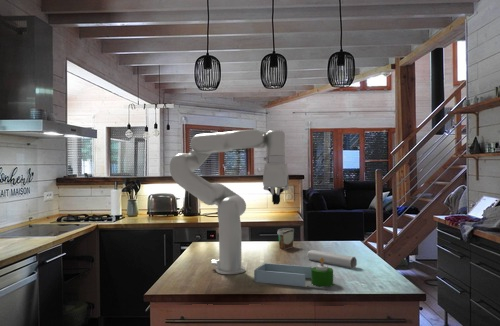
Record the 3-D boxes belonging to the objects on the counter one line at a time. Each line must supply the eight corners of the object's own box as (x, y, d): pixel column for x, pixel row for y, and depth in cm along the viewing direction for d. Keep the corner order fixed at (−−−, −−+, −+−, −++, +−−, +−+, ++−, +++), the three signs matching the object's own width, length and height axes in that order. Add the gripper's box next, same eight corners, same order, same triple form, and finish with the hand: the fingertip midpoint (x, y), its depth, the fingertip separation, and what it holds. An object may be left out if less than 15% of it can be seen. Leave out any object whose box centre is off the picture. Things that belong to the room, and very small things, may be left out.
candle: (337, 283, 159) (337, 257, 159) (324, 288, 153) (324, 261, 153) (320, 279, 165) (320, 254, 165) (306, 283, 160) (306, 257, 160)
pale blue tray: (254, 281, 162) (254, 270, 162) (264, 273, 174) (264, 262, 174) (304, 286, 155) (304, 274, 155) (311, 277, 167) (311, 266, 167)
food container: (284, 245, 233) (284, 227, 233) (294, 246, 229) (294, 228, 229) (272, 249, 223) (272, 230, 223) (282, 250, 219) (282, 231, 219)
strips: (306, 288, 154) (306, 286, 154) (314, 277, 168) (314, 275, 168) (325, 289, 151) (325, 288, 151) (332, 278, 166) (332, 277, 166)
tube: (303, 252, 198) (349, 260, 179) (310, 247, 201) (355, 254, 183) (306, 262, 199) (351, 271, 181) (312, 256, 202) (357, 265, 184)
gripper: (256, 160, 172) (256, 204, 172) (291, 160, 167) (291, 205, 167) (261, 160, 179) (261, 202, 179) (295, 160, 174) (295, 203, 174)
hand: (276, 204), depth 173 cm, fingers closed
